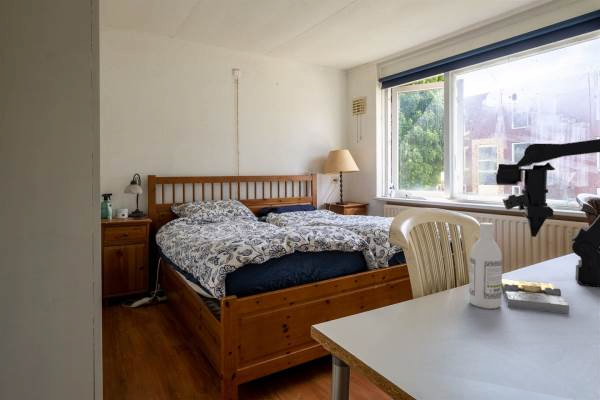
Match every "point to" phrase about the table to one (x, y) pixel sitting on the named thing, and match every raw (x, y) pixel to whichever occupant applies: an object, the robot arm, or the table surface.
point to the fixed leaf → (536, 299)
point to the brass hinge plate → (528, 286)
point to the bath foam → (485, 270)
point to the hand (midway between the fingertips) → (533, 236)
